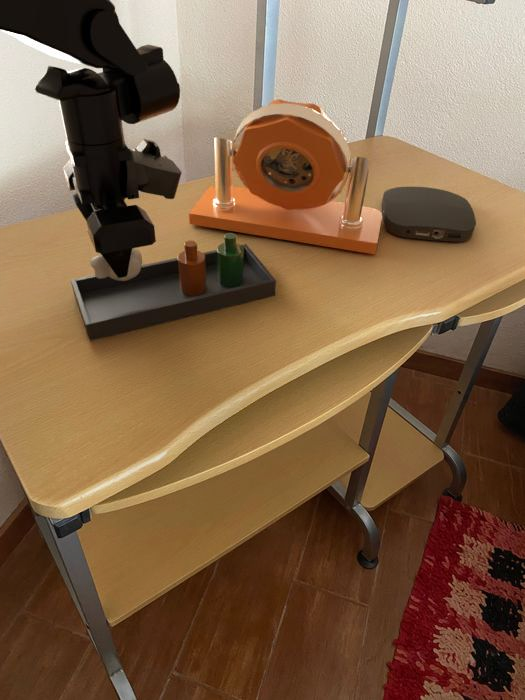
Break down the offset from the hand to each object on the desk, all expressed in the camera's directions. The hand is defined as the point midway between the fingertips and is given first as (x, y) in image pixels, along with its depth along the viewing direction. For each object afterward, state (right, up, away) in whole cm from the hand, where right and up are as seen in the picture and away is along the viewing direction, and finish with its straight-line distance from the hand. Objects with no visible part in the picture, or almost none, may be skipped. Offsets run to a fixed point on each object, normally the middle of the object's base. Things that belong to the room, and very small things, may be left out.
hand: (116, 264), depth 65 cm
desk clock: (+22, +10, +23) cm, 33 cm away
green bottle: (+13, -1, +9) cm, 16 cm away
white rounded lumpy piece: (0, -2, +1) cm, 2 cm away
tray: (+6, -3, +7) cm, 10 cm away
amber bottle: (+8, -2, +7) cm, 11 cm away
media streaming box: (+46, +12, +26) cm, 54 cm away
